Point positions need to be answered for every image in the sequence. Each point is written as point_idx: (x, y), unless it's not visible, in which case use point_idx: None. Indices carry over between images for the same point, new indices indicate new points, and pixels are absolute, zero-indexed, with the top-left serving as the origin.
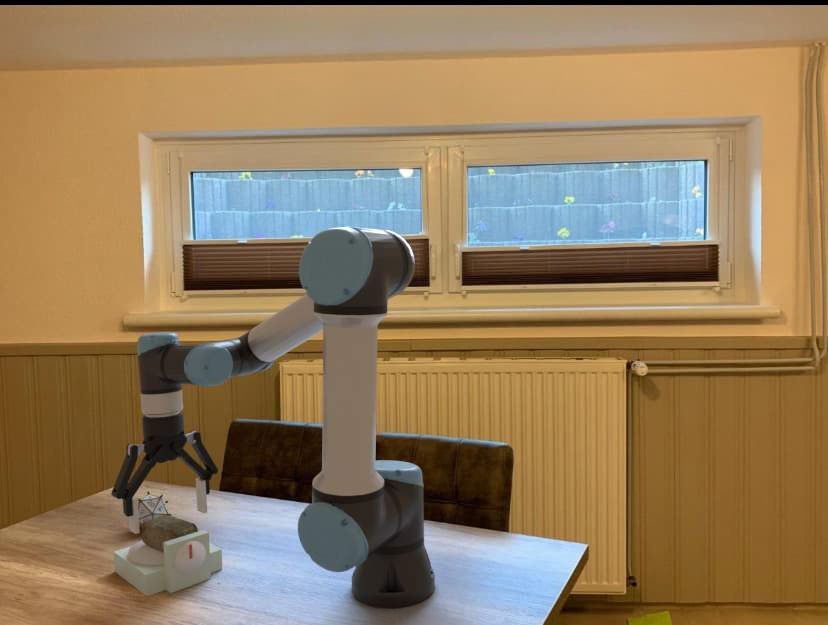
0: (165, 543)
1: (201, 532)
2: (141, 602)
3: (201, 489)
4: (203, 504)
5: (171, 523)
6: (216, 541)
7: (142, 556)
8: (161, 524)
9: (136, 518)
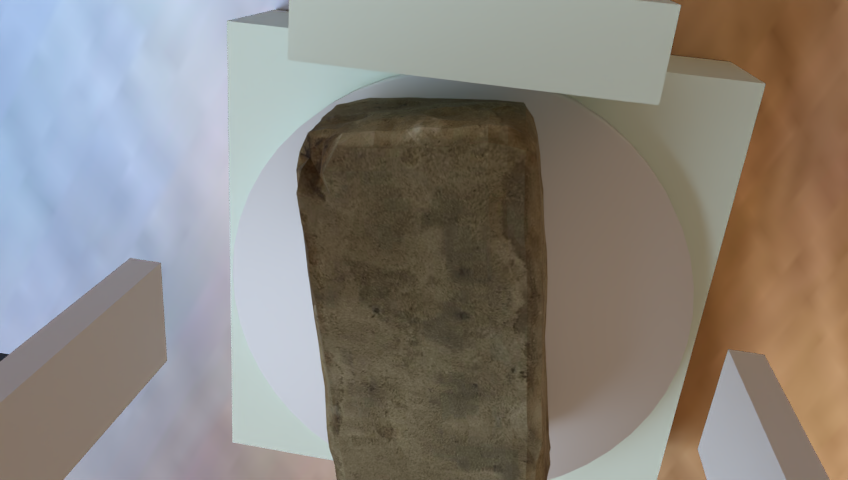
0: (664, 66)
1: (333, 17)
2: (792, 25)
3: (29, 397)
4: (117, 298)
5: (427, 328)
6: None
7: (645, 293)
8: (490, 372)
9: (790, 435)
